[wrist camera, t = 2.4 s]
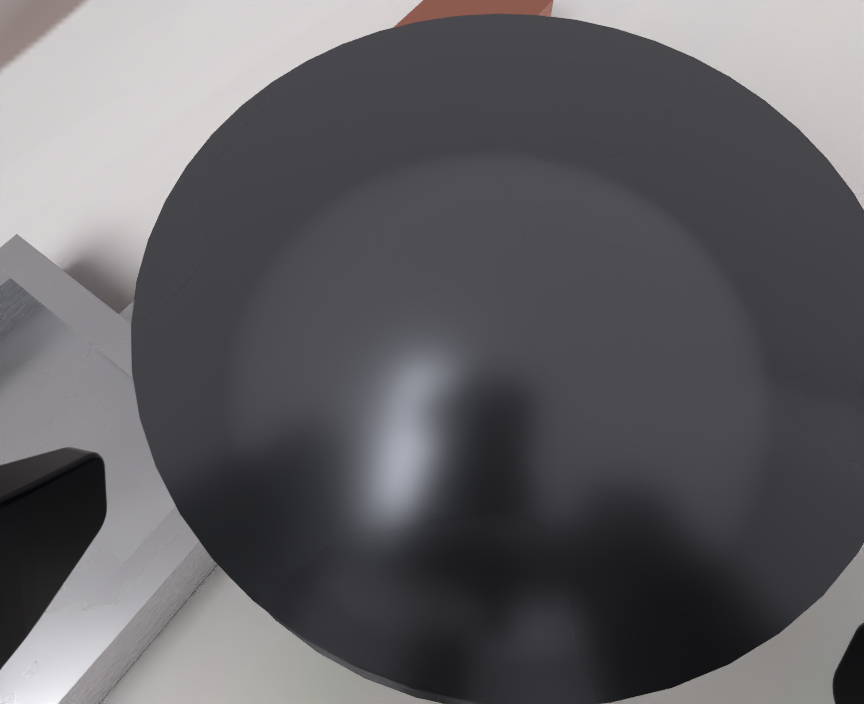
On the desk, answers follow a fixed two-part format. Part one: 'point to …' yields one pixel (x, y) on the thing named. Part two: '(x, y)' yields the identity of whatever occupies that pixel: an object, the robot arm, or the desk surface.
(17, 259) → the square pan with handle
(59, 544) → the robot arm
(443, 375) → the dark grey tall cylinder
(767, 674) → the desk surface
